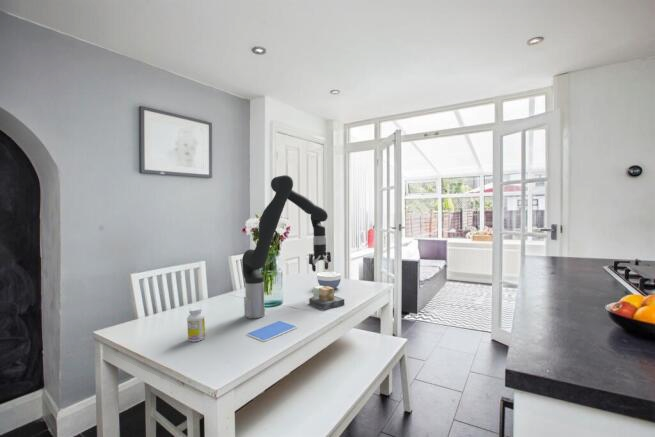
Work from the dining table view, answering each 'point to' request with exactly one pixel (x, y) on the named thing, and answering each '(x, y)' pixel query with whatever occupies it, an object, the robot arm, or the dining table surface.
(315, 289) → the sage block
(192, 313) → the supplement bottle
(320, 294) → the oak block
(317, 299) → the slate base
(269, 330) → the tablet computer
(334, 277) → the bowl
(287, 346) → the dining table surface
